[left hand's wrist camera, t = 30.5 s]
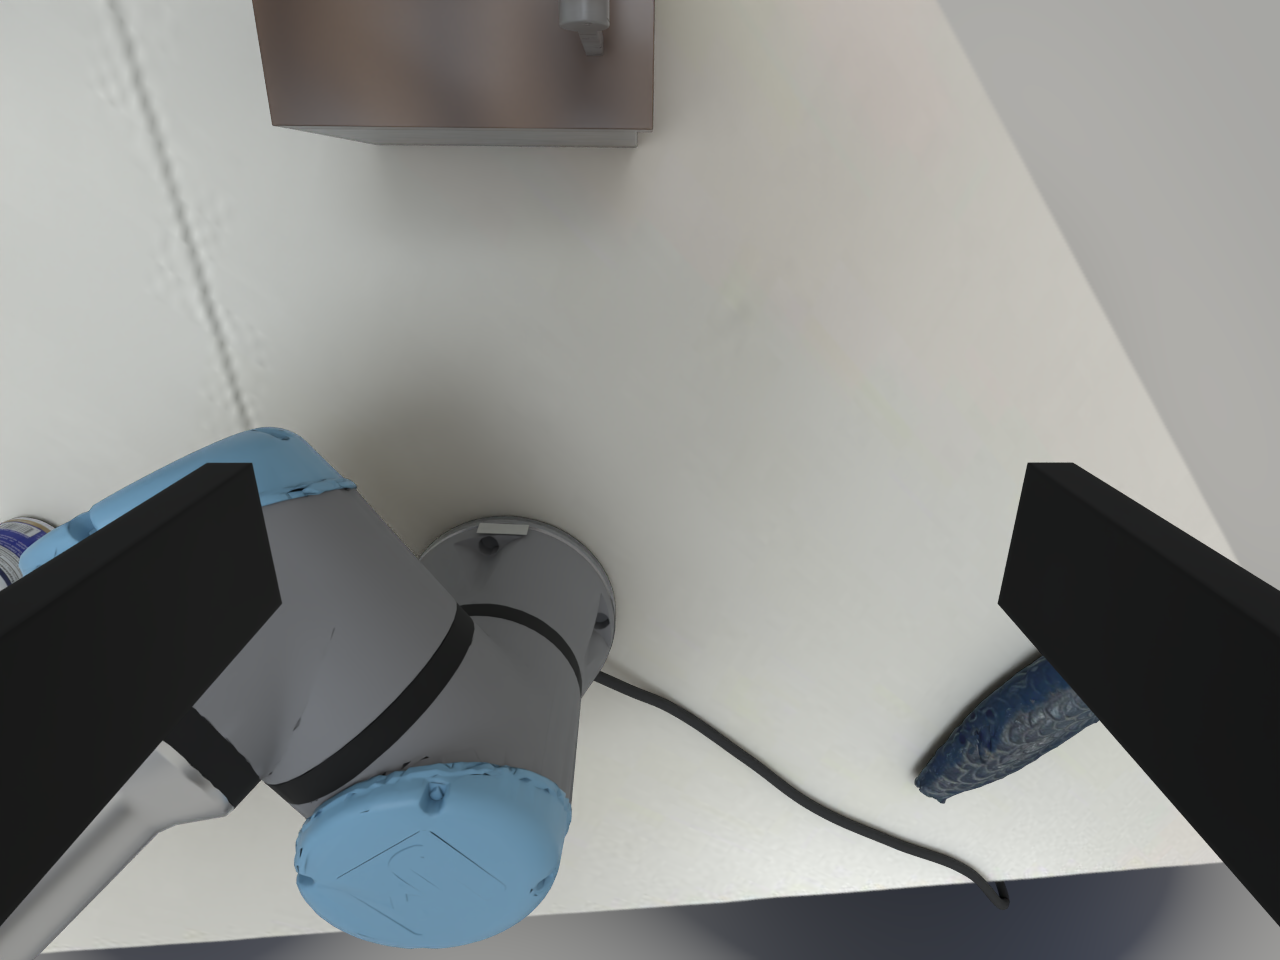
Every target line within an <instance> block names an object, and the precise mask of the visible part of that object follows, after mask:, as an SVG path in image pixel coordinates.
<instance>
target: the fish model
mask: <svg viewBox="0 0 1280 960" xmlns="http://www.w3.org/2000/svg"><path fill="white" fill-rule="evenodd" d="M1098 721H1099V719H1098V718H1097V717H1096V716H1095V714H1094V713H1093V712H1092V711H1091V710H1090V709H1089V708H1088V706H1087V705H1086V704H1085V703H1084V702H1083V701H1082V700H1081V698H1080V697H1079V696H1078V695H1077V694H1076V693H1075V692H1074V690H1073V689H1072V688H1071V687H1070V686H1069V685H1068V684H1067V682H1066V681H1065V680H1064V679H1063V678H1062V677H1061V676H1060V674H1059V673H1058V672H1057V671H1056V670H1055V669H1054V668H1053V666H1052V665H1051V664H1050V663H1049V662H1048V661H1047V659H1046V658H1045V657H1044V656H1041V657H1040V658H1038V659H1037V660H1036V661H1034V662H1033V663H1032V664H1031V665H1029V666H1027V667H1025V668H1024V669H1022V670H1021V671H1019V672H1018V673H1016V674H1015V675H1014V676H1013V677H1012V678H1011V679H1010V680H1008V681H1007V682H1005V683H1004V684H1003V685H1002V686H1001V687H999V688H998V689H996V690H995V691H994V692H993V693H992V694H990V695H989V696H988V697H987V698H986V699H984V700H983V701H982V702H981V703H980V704H979V705H978V706H977V707H976V708H975V709H974V710H973V712H971V713H970V714H969V715H968V716H967V717H966V718H965V719H964V721H963V723H962V724H961V725H960V726H959V727H957V728H955V730H954V731H953V732H952V734H951V735H950V737H949V738H948V740H947V741H946V743H945V744H943V745H942V746H941V747H940V748H939V749H938V750H937V751H936V753H935V756H933V757H932V759H931V760H930V761H929V763H928V764H927V766H926V767H925V768H924V769H923V770H922V772H921V773H920V774H919V776H918V777H917V778H916V779H915V785H916V786H917V788H918V787H919V790H920V792H921V793H923V794H924V795H926V796H928V797H933V798H934V799H937V800H938V801H939V802H940V803H943V804H944V803H945V801H946V799H947V798H949V797H951V796H954V795H956V794H959V793H962V792H964V791H968V790H972V789H975V788H979V787H982V786H984V785H986V784H989V783H992V782H994V781H996V780H999V779H1002V778H1004V777H1006V776H1007V775H1009V774H1012V773H1014V772H1016V771H1018V770H1020V769H1022V768H1023V767H1024V766H1026V765H1028V764H1029V763H1031V762H1033V761H1035V760H1037V759H1038V758H1039V757H1040V756H1042V755H1044V754H1045V753H1047V752H1049V751H1050V750H1052V749H1054V748H1056V747H1058V746H1059V745H1061V744H1062V743H1064V742H1065V741H1067V740H1068V739H1070V738H1071V737H1073V736H1074V735H1076V734H1077V733H1079V732H1080V731H1082V730H1083V729H1084V728H1085V727H1087V726H1089V725H1091V724H1093V723H1097V722H1098Z"/></svg>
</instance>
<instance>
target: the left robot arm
mask: <svg viewBox="0 0 1280 960" xmlns="http://www.w3.org/2000/svg"><path fill="white" fill-rule="evenodd" d="M356 488H357V486H356V485H355V483H354V482H352V481H351V480H349V479H345V478H343V477H342V476H341V475H340V474H339V473H338V472H337V471H336V470H335V469H333V468H332V467H331V466H330V465H329V464H328V463H327V462H326V461H325V460H324V459H323V458H322V457H321V456H320V455H319V454H318V453H317V452H316V451H315V450H314V449H313V448H312V447H311V446H310V445H309V444H308V443H307V442H306V441H305V440H304V439H303V438H302V437H300V436H299V435H297V434H295V433H293V432H291V431H288V430H286V429H282V428H275V427H262V428H256V429H252V430H248V431H244V432H241V433H238V434H235V435H233V436H230V437H227V438H225V439H223V440H220V441H218V442H215V443H213V444H211V445H209V446H206V447H204V448H202V449H200V450H198V451H196V452H193V453H191V454H189V455H187V456H185V457H183V458H181V459H179V460H177V461H175V462H173V463H171V464H169V465H167V466H165V467H163V468H161V469H159V470H157V471H155V472H153V473H151V474H149V475H147V476H145V477H143V478H141V479H139V480H137V481H136V482H134V483H132V484H130V485H128V486H126V487H124V488H123V489H121V490H119V491H117V492H115V493H114V494H112V495H110V496H108V497H107V498H105V499H103V500H102V501H100V502H98V503H97V504H95V505H93V506H92V508H91V509H90V510H89V511H88V512H85V513H82V514H80V515H78V516H77V517H75V518H74V519H72V520H71V521H69V522H67V523H65V524H63V525H61V526H59V527H57V528H55V529H53V530H52V531H50V532H48V533H47V534H45V535H44V536H43V537H41V538H40V539H38V540H37V541H36V542H34V543H33V544H32V545H31V546H29V547H28V548H27V549H26V550H25V551H24V552H23V553H22V555H21V556H20V560H19V565H18V566H19V568H20V570H21V572H22V574H23V577H22V578H20V579H19V580H17V581H16V582H14V583H12V584H11V585H9V586H8V587H6V588H4V589H3V590H1V591H0V960H34V959H35V958H36V957H37V956H38V955H39V954H40V953H41V952H42V951H43V950H44V949H45V948H46V947H47V946H48V945H49V944H50V943H51V942H52V941H53V940H54V939H55V938H56V937H57V936H58V935H59V934H60V933H61V932H62V931H63V930H64V929H65V928H66V927H67V925H68V924H69V923H70V922H71V921H72V920H73V919H74V918H75V917H76V916H77V915H78V914H79V913H80V912H81V911H82V910H83V909H84V908H85V907H86V906H87V905H88V904H89V903H90V902H91V901H92V900H93V899H94V898H95V897H96V896H97V895H98V894H99V893H100V892H101V891H102V890H103V889H104V888H105V887H106V886H107V885H108V884H109V883H110V882H111V881H112V880H113V879H114V878H115V877H116V876H117V875H118V874H119V873H120V872H121V871H122V870H123V869H124V867H125V866H126V865H127V864H128V863H129V862H130V861H131V860H132V859H133V858H134V857H135V856H136V855H137V854H138V853H139V852H140V851H141V850H142V849H143V848H144V847H145V846H146V845H147V844H148V843H149V842H150V841H151V840H152V839H153V838H154V837H155V836H156V835H157V834H158V833H159V832H162V831H164V830H166V829H168V828H170V827H173V826H175V825H179V824H185V823H190V822H196V821H201V820H207V819H213V818H218V817H224V816H227V815H228V814H229V813H230V812H231V811H232V810H233V809H234V808H235V807H236V806H237V805H238V804H239V803H240V802H241V801H242V800H243V799H244V798H245V797H246V796H247V795H248V794H249V792H250V791H251V790H252V789H253V788H254V787H255V786H256V785H257V784H258V783H259V782H260V781H261V780H262V781H264V782H265V784H267V785H268V786H269V787H271V788H272V789H273V790H274V791H275V792H276V793H277V794H279V795H280V796H281V797H282V798H283V799H284V800H286V801H287V802H288V803H289V804H290V805H291V806H292V807H293V808H295V809H296V810H297V811H298V812H299V813H300V814H301V815H303V816H304V817H305V818H306V821H305V823H304V824H303V826H302V828H301V830H300V832H299V835H298V838H297V840H296V855H295V859H294V866H295V869H296V872H298V875H297V886H298V888H299V891H300V893H301V895H302V896H303V898H304V899H305V901H306V902H307V903H308V904H309V905H310V906H311V908H312V909H313V910H314V911H315V912H316V913H317V914H318V915H319V916H320V917H321V918H323V919H324V920H325V921H327V922H328V923H330V924H331V925H333V926H334V927H336V928H338V929H340V930H342V931H344V932H346V933H348V934H350V935H352V936H355V937H357V938H360V939H363V940H366V941H369V942H373V943H377V944H381V945H386V946H392V947H399V948H407V949H413V948H434V949H438V948H448V947H456V946H461V945H466V944H469V943H473V942H477V941H481V940H484V939H486V938H489V937H492V936H494V935H496V934H499V933H501V932H503V931H505V930H507V929H508V928H510V927H512V926H513V925H515V924H517V923H518V922H520V921H521V920H522V919H524V918H525V917H526V916H527V915H529V914H530V913H531V912H532V911H533V910H534V909H535V908H536V907H537V906H538V905H539V904H540V902H541V901H542V900H543V899H544V898H545V896H546V895H547V893H548V891H549V890H550V888H551V886H552V884H553V882H554V880H555V877H556V875H557V872H558V869H559V865H560V859H561V854H562V848H563V843H564V838H565V836H566V834H567V832H568V829H569V825H570V822H571V817H572V809H571V802H572V791H573V780H574V769H575V759H576V748H577V737H578V727H579V716H580V703H581V698H582V697H583V695H584V694H585V692H586V691H587V689H588V688H589V686H590V685H591V683H592V682H593V680H594V681H596V682H598V683H600V684H603V685H605V686H607V687H609V688H612V689H614V690H616V691H618V692H621V693H623V694H625V695H628V696H630V697H632V698H635V699H637V700H640V701H643V702H645V703H648V704H651V705H653V706H656V707H658V708H660V709H662V710H664V711H666V712H668V713H670V714H672V715H673V716H675V717H677V718H679V719H680V720H682V721H684V722H685V723H687V724H688V725H690V726H692V727H693V728H695V729H696V730H698V731H699V732H701V733H702V734H703V735H705V736H706V737H708V738H709V739H711V740H712V741H713V742H715V743H716V744H718V745H719V746H720V747H722V748H723V749H724V750H726V751H727V752H729V753H730V754H731V755H733V756H734V757H736V758H737V759H739V760H740V761H741V762H743V763H744V764H746V765H747V766H749V767H750V768H751V769H753V770H754V771H755V772H757V773H758V774H759V775H761V776H762V777H763V778H765V779H766V780H767V781H768V782H770V783H771V784H772V785H774V786H775V787H776V788H777V789H779V790H780V791H781V792H783V793H784V794H785V795H787V796H788V797H790V798H791V799H792V800H794V801H795V802H797V803H798V804H800V805H802V806H803V807H805V808H806V809H808V810H810V811H812V812H813V813H815V814H817V815H819V816H821V817H822V818H824V819H826V820H828V821H830V822H832V823H834V824H837V825H839V826H841V827H843V828H845V829H848V830H850V831H853V832H855V833H857V834H860V835H862V836H865V837H867V838H870V839H872V840H875V841H877V842H880V843H882V844H885V845H887V846H890V847H892V848H894V849H897V850H900V851H902V852H905V853H908V854H911V855H914V856H917V857H920V858H923V859H926V860H929V861H932V862H935V863H938V864H941V865H944V866H946V867H949V868H951V869H953V870H955V871H957V872H959V873H961V874H963V875H965V876H966V877H968V878H969V879H971V880H972V881H973V882H975V883H976V884H977V885H978V886H979V887H980V889H981V890H982V891H983V892H984V893H985V895H986V896H987V897H988V898H989V899H990V901H991V902H992V903H993V904H994V905H995V906H996V907H997V908H999V909H1002V910H1005V909H1007V908H1008V906H1009V902H1010V901H1009V895H1008V891H1007V888H1006V886H1005V883H1004V880H999V881H995V884H996V887H997V890H998V893H999V896H998V895H997V894H996V892H995V891H994V890H993V889H992V888H991V886H990V885H989V884H988V883H987V882H986V881H985V880H984V879H983V878H982V877H981V876H980V875H979V874H978V873H977V872H976V871H974V870H973V869H972V868H970V867H968V866H967V865H965V864H963V863H961V862H959V861H957V860H955V859H953V858H950V857H948V856H945V855H943V854H940V853H937V852H934V851H931V850H928V849H925V848H922V847H919V846H916V845H913V844H910V843H907V842H904V841H902V840H899V839H897V838H894V837H892V836H889V835H887V834H885V833H882V832H880V831H877V830H875V829H872V828H870V827H867V826H865V825H862V824H860V823H857V822H855V821H853V820H850V819H848V818H846V817H844V816H841V815H839V814H837V813H835V812H833V811H831V810H829V809H827V808H825V807H823V806H822V805H820V804H818V803H816V802H815V801H813V800H811V799H809V798H808V797H806V796H805V795H803V794H802V793H800V792H799V791H797V790H796V789H794V788H793V787H792V786H790V785H789V784H787V783H786V782H785V781H784V780H782V779H781V778H780V777H778V776H777V775H776V774H775V773H773V772H772V771H771V770H770V769H768V768H767V767H766V766H764V765H763V764H762V763H760V762H759V761H758V760H756V759H755V758H754V757H752V756H751V755H749V754H748V753H747V752H745V751H744V750H742V749H741V748H739V747H738V746H737V745H735V744H734V743H732V742H731V741H730V740H728V739H727V738H726V737H724V736H723V735H721V734H720V733H719V732H717V731H716V730H715V729H713V728H712V727H710V726H709V725H707V724H706V723H705V722H703V721H702V720H700V719H699V718H697V717H696V716H694V715H692V714H691V713H689V712H688V711H686V710H684V709H683V708H681V707H679V706H677V705H676V704H674V703H672V702H670V701H668V700H666V699H664V698H662V697H660V696H658V695H655V694H653V693H650V692H647V691H645V690H642V689H640V688H637V687H635V686H633V685H630V684H628V683H626V682H624V681H621V680H619V679H617V678H615V677H613V676H610V675H608V674H606V673H604V672H602V671H600V670H601V668H602V667H603V665H604V663H605V661H606V659H607V656H608V654H609V651H610V649H611V646H612V642H613V638H614V632H615V617H616V607H615V599H614V593H613V590H612V587H611V583H610V581H609V579H608V577H607V574H606V573H605V571H604V569H603V567H602V566H601V564H600V563H599V562H598V560H597V559H596V558H595V557H594V555H593V554H592V553H591V552H590V551H589V550H588V549H587V548H586V547H585V546H584V545H583V544H581V543H580V542H579V541H578V540H576V539H575V538H574V537H572V536H570V535H569V534H567V533H566V532H564V531H562V530H560V529H558V528H556V527H554V526H551V525H549V524H547V523H543V522H540V521H537V520H533V519H528V518H523V517H515V516H495V517H487V518H481V519H477V520H472V521H469V522H467V523H464V524H461V525H459V526H457V527H455V528H453V529H451V530H449V531H447V532H446V533H444V534H443V535H441V536H440V537H439V538H437V539H436V540H435V541H434V542H433V543H432V544H431V545H430V546H429V547H428V548H427V549H426V550H425V551H424V552H423V554H422V555H421V557H420V558H419V560H418V559H417V558H416V557H415V555H414V554H413V553H412V552H411V551H410V550H409V549H408V548H407V546H406V545H405V544H404V543H403V542H402V541H401V540H400V539H399V538H398V536H397V535H396V534H395V533H394V532H393V531H392V530H391V529H390V527H389V526H388V525H387V524H386V523H385V522H384V521H383V520H382V519H381V517H380V516H379V515H378V514H377V513H376V512H375V511H374V510H373V508H372V507H371V506H370V505H369V504H368V503H367V502H366V501H365V500H364V498H363V497H362V496H361V495H360V494H359V493H358V492H357V491H356ZM998 605H999V606H1000V607H1001V608H1002V609H1003V610H1004V611H1005V613H1006V614H1007V615H1008V616H1009V617H1010V618H1011V619H1012V621H1013V622H1014V623H1015V624H1016V625H1017V626H1018V627H1019V629H1020V630H1021V631H1022V632H1023V633H1024V634H1025V635H1026V637H1027V638H1028V639H1029V640H1030V641H1031V642H1032V643H1033V645H1034V646H1035V647H1036V648H1037V649H1038V650H1039V651H1040V653H1041V654H1042V655H1043V656H1044V657H1045V658H1046V659H1047V661H1048V662H1049V663H1050V664H1051V665H1052V666H1053V668H1054V669H1055V670H1056V671H1057V672H1058V673H1059V674H1060V676H1061V677H1062V678H1063V679H1064V680H1065V681H1066V682H1067V684H1068V685H1069V686H1070V687H1071V688H1072V689H1073V690H1074V692H1075V693H1076V694H1077V695H1078V696H1079V697H1080V698H1081V700H1082V701H1083V702H1084V703H1085V704H1086V705H1087V706H1088V708H1089V709H1090V710H1091V711H1092V712H1093V713H1094V714H1095V716H1096V717H1097V718H1098V719H1099V720H1100V721H1101V722H1102V724H1103V725H1104V726H1105V727H1106V728H1107V729H1108V731H1109V732H1110V733H1111V734H1112V735H1113V736H1114V737H1115V739H1116V740H1117V741H1118V742H1119V743H1120V744H1121V745H1122V747H1123V748H1124V749H1125V750H1126V751H1127V752H1128V753H1129V755H1130V756H1131V757H1132V758H1133V759H1134V760H1135V761H1136V763H1137V764H1138V765H1139V766H1140V767H1141V768H1142V769H1143V771H1144V772H1145V773H1146V774H1147V775H1148V776H1149V777H1150V779H1151V780H1152V781H1153V782H1154V783H1155V784H1156V786H1157V787H1158V788H1159V789H1160V790H1161V791H1162V792H1163V794H1164V795H1165V796H1166V797H1167V798H1168V799H1169V800H1170V802H1171V803H1172V804H1173V805H1174V806H1175V807H1176V808H1177V810H1178V811H1179V812H1180V813H1181V814H1182V815H1183V816H1184V818H1185V819H1186V820H1187V821H1188V822H1189V823H1190V824H1191V826H1192V827H1193V828H1194V829H1195V830H1196V831H1197V832H1198V834H1199V835H1200V836H1201V837H1202V838H1203V839H1204V840H1205V842H1206V843H1207V844H1208V845H1209V846H1210V847H1211V849H1212V850H1213V851H1214V852H1215V853H1216V854H1217V855H1218V857H1219V858H1220V859H1221V860H1222V861H1223V862H1224V863H1225V865H1226V866H1227V867H1228V868H1229V869H1230V870H1231V871H1232V872H1233V874H1234V875H1235V876H1236V877H1237V878H1238V879H1239V881H1240V882H1241V883H1242V884H1243V885H1244V886H1245V887H1246V889H1247V890H1248V891H1249V892H1250V893H1251V894H1252V895H1253V897H1254V898H1255V899H1256V900H1257V901H1258V902H1259V903H1260V905H1261V906H1262V907H1263V908H1264V909H1265V910H1266V912H1267V913H1268V914H1269V915H1270V916H1271V917H1272V918H1273V920H1274V921H1275V922H1276V923H1277V924H1278V925H1279V926H1280V591H1279V590H1277V589H1276V588H1274V587H1272V586H1271V585H1269V584H1268V583H1266V582H1264V581H1263V580H1261V579H1260V578H1258V577H1256V576H1255V575H1253V574H1251V573H1250V572H1248V571H1247V570H1245V569H1243V568H1242V567H1240V566H1239V565H1237V564H1235V563H1234V562H1232V561H1231V560H1229V559H1227V558H1226V557H1224V556H1223V555H1221V554H1219V553H1218V552H1216V551H1214V550H1213V549H1211V548H1210V547H1208V546H1206V545H1205V544H1203V543H1202V542H1200V541H1198V540H1197V539H1195V538H1194V537H1192V536H1190V535H1189V534H1187V533H1185V532H1184V531H1182V530H1181V529H1179V528H1177V527H1176V526H1174V525H1173V524H1171V523H1169V522H1168V521H1166V520H1165V519H1163V518H1161V517H1160V516H1158V515H1156V514H1155V513H1153V512H1152V511H1150V510H1148V509H1147V508H1145V507H1144V506H1142V505H1140V504H1139V503H1137V502H1136V501H1134V500H1132V499H1131V498H1129V497H1127V496H1126V495H1124V494H1123V493H1121V492H1119V491H1118V490H1116V489H1115V488H1113V487H1111V486H1110V485H1108V484H1107V483H1105V482H1103V481H1102V480H1100V479H1098V478H1097V477H1095V476H1094V475H1092V474H1090V473H1089V472H1087V471H1086V470H1084V469H1082V468H1081V467H1079V466H1078V465H1076V464H1074V463H1028V464H1027V468H1026V473H1025V478H1024V483H1023V487H1022V492H1021V497H1020V501H1019V506H1018V511H1017V515H1016V520H1015V525H1014V530H1013V534H1012V539H1011V544H1010V548H1009V553H1008V558H1007V562H1006V567H1005V572H1004V577H1003V581H1002V586H1001V591H1000V595H999V600H998Z"/></svg>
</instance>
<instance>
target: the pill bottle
mask: <svg viewBox="0 0 1280 960" xmlns="http://www.w3.org/2000/svg"><path fill="white" fill-rule="evenodd" d="M53 529H55V528H54V527H52V526H51V525H49V524H47V523H45V522H43V521H40V520H37V519H33V518H26V517H21V518H14V519H10V520H8V521H5V522H3V523H1V524H0V591H1V590H3V589H4V588H6V587H8V586H9V585H11V584H12V583H14V582H16V581H17V580H19V579H20V578H22V577H23V574H22V572H21V570H20V568H19V566H18V565H19V560H20V556H21V555H22V553H23V552H24V551H25V550H26V549H27V548H28V547H29V546H31V545H32V544H33V543H34V542H36V541H37V540H38V539H40V538H41V537H43V536H44V535H45V534H47V533H48V532H50V531H52V530H53Z"/></svg>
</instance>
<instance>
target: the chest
mask: <svg viewBox="0 0 1280 960" xmlns="http://www.w3.org/2000/svg"><path fill="white" fill-rule="evenodd" d="M290 129H295V130H300V131H305V132H311V133H316V134H321V135H327V136H332V137H337V138H343V139H348V140H353V141H359V142H364V143H370V144H375V145H453V146H547V147H637V132H593V131H501V130H408V129H316V128H290Z"/></svg>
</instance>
